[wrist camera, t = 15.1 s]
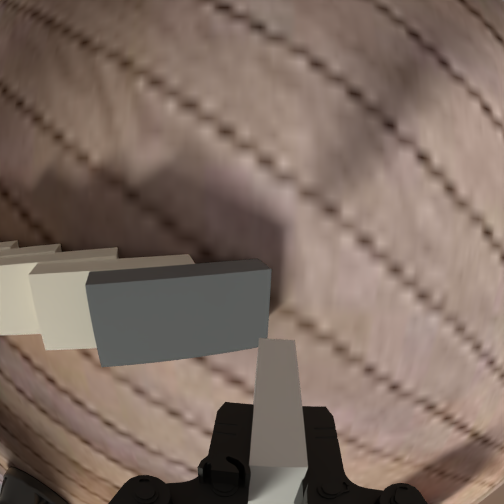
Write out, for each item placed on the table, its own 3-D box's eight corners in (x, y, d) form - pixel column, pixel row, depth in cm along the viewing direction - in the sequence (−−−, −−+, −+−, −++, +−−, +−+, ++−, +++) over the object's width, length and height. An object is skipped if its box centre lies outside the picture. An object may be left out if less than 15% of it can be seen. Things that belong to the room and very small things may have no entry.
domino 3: (190, 324, 21) (51, 334, 18) (189, 254, 20) (37, 263, 16) (197, 338, 19) (45, 350, 16) (195, 263, 18) (28, 274, 14)
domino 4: (254, 330, 21) (102, 348, 17) (258, 258, 19) (89, 271, 16) (266, 345, 19) (101, 367, 15) (271, 269, 18) (85, 285, 14)
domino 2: (125, 314, 21) (5, 322, 18) (117, 247, 20) (-10, 258, 16) (125, 327, 20) (-2, 335, 16) (116, 255, 18) (-20, 267, 15)
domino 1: (70, 305, 22) (-29, 312, 18) (60, 243, 20) (-42, 254, 17) (67, 317, 20) (-37, 322, 16) (55, 250, 18) (-53, 262, 15)
